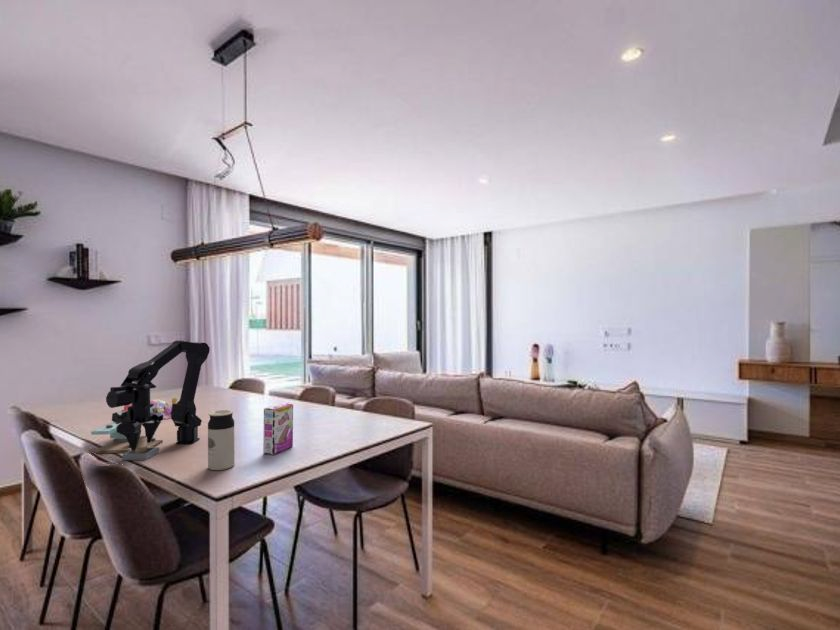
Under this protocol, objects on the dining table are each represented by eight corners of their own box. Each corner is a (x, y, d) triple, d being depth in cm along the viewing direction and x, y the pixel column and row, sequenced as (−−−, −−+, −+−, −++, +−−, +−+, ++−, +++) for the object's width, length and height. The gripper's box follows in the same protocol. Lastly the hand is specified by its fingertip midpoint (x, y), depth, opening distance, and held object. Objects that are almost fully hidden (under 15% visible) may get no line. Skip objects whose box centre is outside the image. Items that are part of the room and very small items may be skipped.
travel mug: (230, 461, 153) (229, 408, 152) (238, 467, 146) (237, 412, 146) (205, 466, 147) (204, 411, 147) (212, 472, 141) (211, 415, 141)
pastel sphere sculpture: (145, 412, 231) (144, 394, 231) (190, 412, 231) (190, 394, 231) (111, 424, 206) (111, 404, 206) (162, 424, 206) (162, 404, 206)
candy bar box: (274, 455, 158) (273, 409, 158) (262, 454, 160) (262, 408, 160) (294, 446, 169) (293, 403, 169) (283, 445, 171) (282, 402, 170)
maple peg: (149, 452, 160) (149, 436, 160) (143, 456, 157) (143, 438, 157) (139, 452, 160) (138, 436, 160) (132, 456, 156) (132, 439, 156)
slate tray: (158, 452, 162) (158, 447, 162) (146, 459, 154) (146, 453, 154) (136, 452, 162) (136, 447, 162) (122, 460, 154) (122, 454, 154)
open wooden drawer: (162, 442, 175) (162, 437, 175) (144, 452, 163) (144, 446, 163) (115, 443, 174) (115, 438, 174) (93, 453, 162) (93, 447, 162)
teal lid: (127, 437, 174) (127, 421, 174) (108, 446, 163) (108, 428, 163) (111, 437, 174) (111, 421, 174) (91, 446, 162) (91, 429, 162)
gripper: (133, 397, 167) (133, 439, 167) (99, 408, 148) (100, 455, 149) (163, 397, 168) (164, 438, 168) (133, 407, 149) (134, 454, 149)
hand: (141, 446), depth 158 cm, fingers open, 9 cm apart
